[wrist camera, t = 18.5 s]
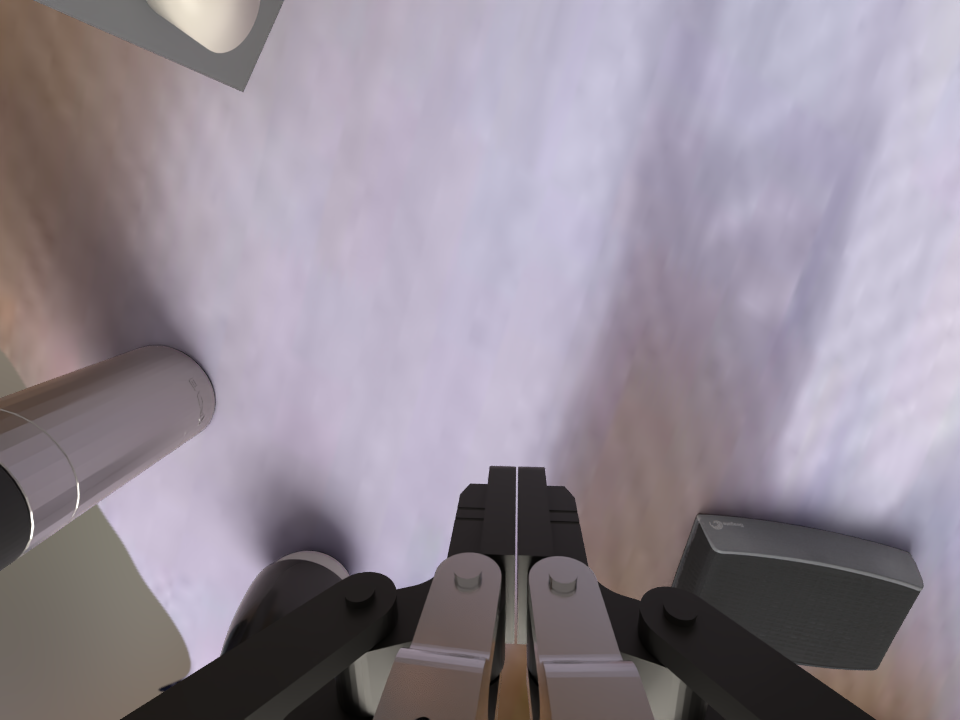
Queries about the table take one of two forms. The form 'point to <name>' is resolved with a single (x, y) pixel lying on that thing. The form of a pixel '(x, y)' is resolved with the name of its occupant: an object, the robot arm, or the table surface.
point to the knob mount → (174, 35)
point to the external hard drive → (802, 588)
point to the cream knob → (211, 20)
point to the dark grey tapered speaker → (282, 592)
